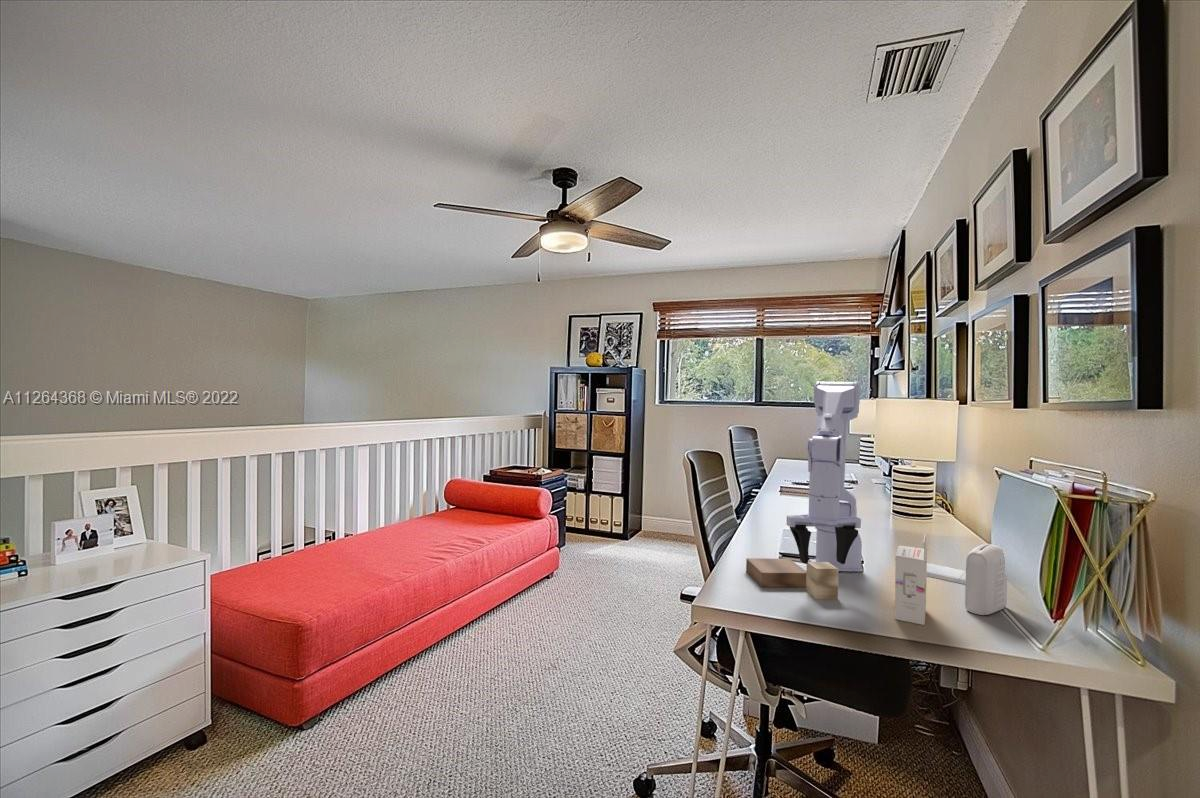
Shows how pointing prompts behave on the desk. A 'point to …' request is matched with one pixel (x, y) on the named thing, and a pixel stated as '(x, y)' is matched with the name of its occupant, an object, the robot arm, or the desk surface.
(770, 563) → the walnut base
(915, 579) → the ink cartridge box
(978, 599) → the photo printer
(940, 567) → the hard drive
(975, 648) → the desk surface
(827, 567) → the maple block
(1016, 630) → the desk surface
